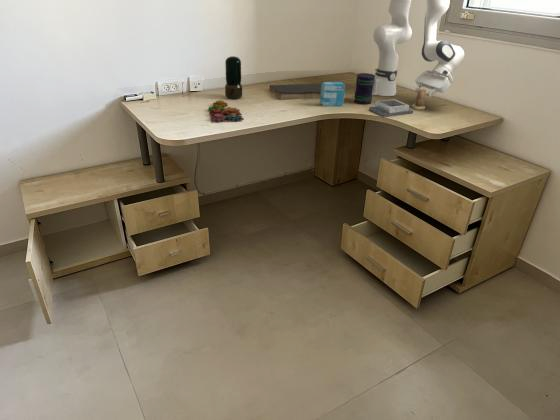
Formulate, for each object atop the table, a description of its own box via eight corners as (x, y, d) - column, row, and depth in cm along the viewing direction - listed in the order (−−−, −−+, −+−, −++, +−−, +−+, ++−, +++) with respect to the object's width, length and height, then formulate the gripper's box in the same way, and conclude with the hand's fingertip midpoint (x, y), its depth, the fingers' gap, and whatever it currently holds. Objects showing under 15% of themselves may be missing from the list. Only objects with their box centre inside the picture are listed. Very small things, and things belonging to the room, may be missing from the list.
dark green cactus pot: (223, 95, 242) (222, 55, 232) (240, 94, 245) (239, 54, 234) (227, 100, 235) (226, 58, 224) (244, 99, 237) (243, 58, 226)
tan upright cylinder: (409, 107, 236) (412, 88, 231) (418, 105, 239) (422, 87, 234) (417, 110, 230) (421, 92, 225) (427, 109, 233) (431, 90, 228)
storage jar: (374, 102, 241) (378, 75, 234) (364, 105, 235) (368, 78, 227) (360, 98, 247) (363, 72, 239) (350, 101, 241) (353, 74, 233)
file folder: (280, 93, 237) (269, 83, 257) (280, 101, 239) (269, 90, 259) (335, 91, 245) (321, 82, 265) (335, 98, 247) (320, 88, 267)
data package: (321, 106, 231) (323, 83, 225) (319, 104, 235) (321, 81, 229) (343, 106, 233) (345, 83, 227) (340, 103, 237) (343, 81, 231)
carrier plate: (368, 109, 228) (370, 101, 226) (397, 106, 236) (398, 98, 233) (384, 117, 218) (385, 108, 216) (412, 113, 226) (414, 104, 223)
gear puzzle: (206, 105, 227) (205, 97, 225) (236, 104, 231) (236, 96, 229) (211, 124, 201) (210, 115, 199) (245, 122, 204) (245, 114, 202)
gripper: (424, 65, 236) (407, 85, 237) (451, 73, 220) (433, 94, 221) (428, 73, 240) (411, 92, 241) (456, 82, 224) (438, 102, 225)
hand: (422, 93), depth 231 cm, fingers open, 8 cm apart
